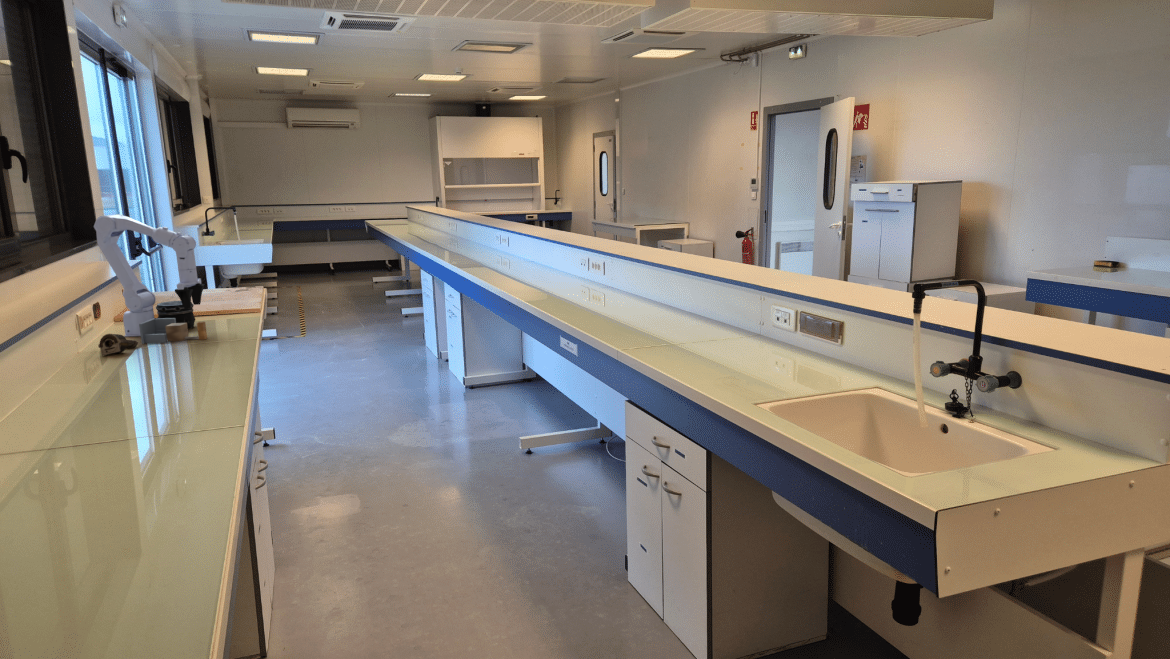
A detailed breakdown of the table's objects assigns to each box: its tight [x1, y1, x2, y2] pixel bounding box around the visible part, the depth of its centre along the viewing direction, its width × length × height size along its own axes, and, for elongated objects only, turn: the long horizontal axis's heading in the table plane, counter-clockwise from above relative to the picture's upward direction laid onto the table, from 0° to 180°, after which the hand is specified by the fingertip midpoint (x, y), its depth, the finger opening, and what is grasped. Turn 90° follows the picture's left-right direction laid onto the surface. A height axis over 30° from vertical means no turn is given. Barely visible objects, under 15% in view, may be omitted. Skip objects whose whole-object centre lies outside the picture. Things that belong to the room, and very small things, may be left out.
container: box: [155, 300, 196, 330], centre depth 278 cm, size 13×13×10 cm
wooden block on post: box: [165, 321, 208, 342], centre depth 258 cm, size 12×5×6 cm, turn 93°
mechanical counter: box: [98, 333, 139, 356], centre depth 241 cm, size 7×13×10 cm
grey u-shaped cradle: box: [139, 318, 176, 345], centre depth 257 cm, size 8×10×7 cm
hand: (192, 306), depth 268 cm, fingers open, 7 cm apart
